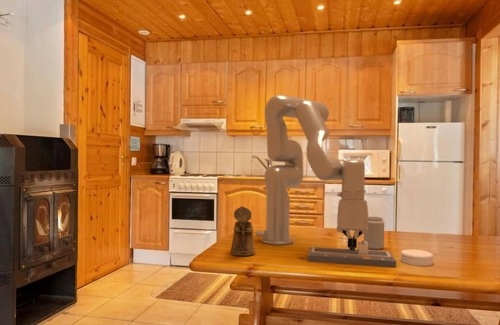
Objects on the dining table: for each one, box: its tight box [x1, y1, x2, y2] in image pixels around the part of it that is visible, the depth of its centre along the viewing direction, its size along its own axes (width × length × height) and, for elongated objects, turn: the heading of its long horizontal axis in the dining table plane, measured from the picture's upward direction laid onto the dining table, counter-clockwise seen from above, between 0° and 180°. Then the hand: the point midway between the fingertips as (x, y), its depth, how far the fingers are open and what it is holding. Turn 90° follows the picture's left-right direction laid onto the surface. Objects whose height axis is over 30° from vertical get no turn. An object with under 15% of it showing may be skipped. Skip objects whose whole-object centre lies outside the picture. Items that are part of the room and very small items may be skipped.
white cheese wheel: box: [400, 248, 434, 267], centre depth 128 cm, size 10×10×4 cm
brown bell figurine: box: [229, 206, 256, 257], centre depth 134 cm, size 9×14×18 cm, turn 178°
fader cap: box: [357, 239, 369, 255], centre depth 129 cm, size 3×4×4 cm
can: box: [363, 216, 385, 251], centre depth 148 cm, size 8×8×12 cm
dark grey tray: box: [307, 246, 397, 268], centre depth 130 cm, size 28×12×3 cm, turn 78°
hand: (352, 249), depth 130 cm, fingers closed
